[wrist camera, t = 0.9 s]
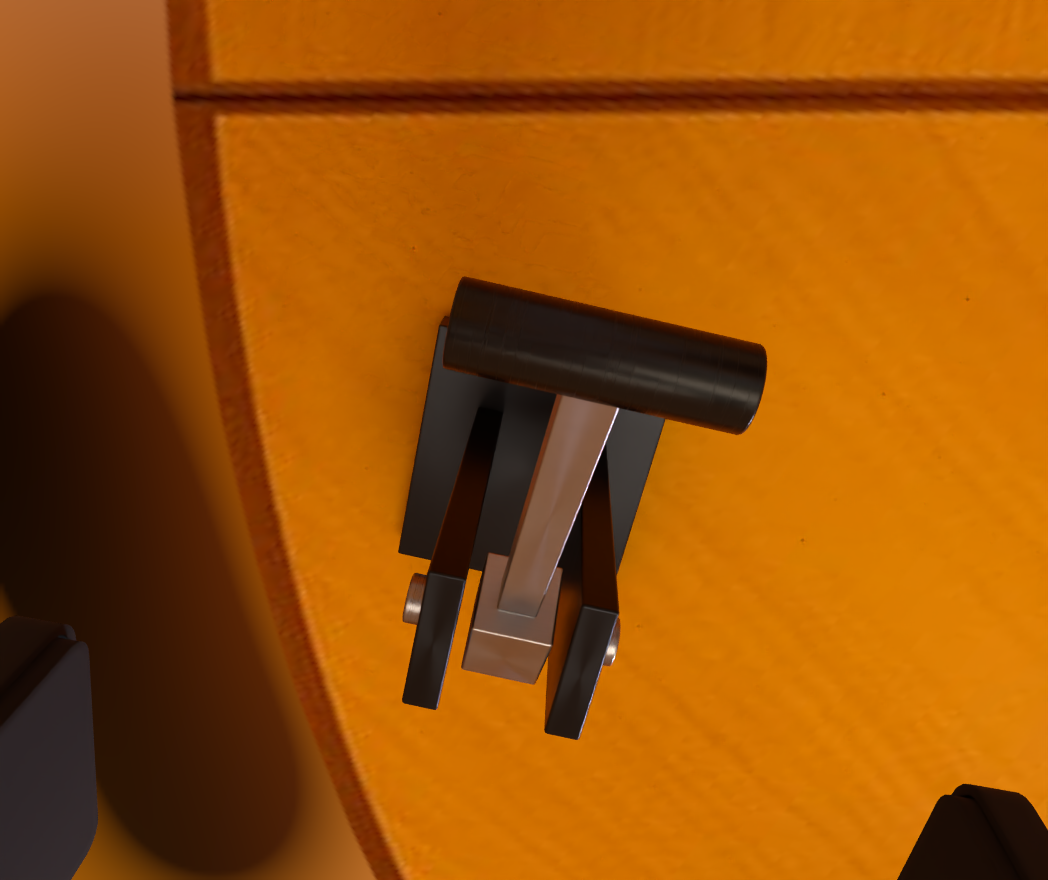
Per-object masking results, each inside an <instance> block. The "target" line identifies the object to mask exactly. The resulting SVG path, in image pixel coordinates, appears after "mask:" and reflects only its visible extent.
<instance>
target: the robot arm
mask: <svg viewBox="0 0 1048 880" xmlns="http://www.w3.org/2000/svg"><path fill="white" fill-rule="evenodd" d="M95 774H96V773H95V755H94V737H93V718H92V701H91V682H90V664H89V651H88V646H87V645H86V643H85V642H81V641H76V637H75V631H74V630H73V629H72V627H71V626H69V625H66V624H61V623H56V622H50V621H44V620H38V619H33V618H27V617H22V616H13V617H9V618H7V619H6V620H5V621H3V622H2V623H0V880H71V879H72V877H73V876H74V874H75V872H76V871H77V869H78V868H79V866H80V865H81V863H82V861H83V860H84V858H85V857H86V855H87V853H88V851H89V849H90V847H91V844H92V842H93V839H94V836H95V833H96V829H97V824H98V809H97V791H96V775H95ZM897 880H1048V830H1047V828H1046V826H1045V825H1044V823H1043V822H1042V820H1041V818H1040V817H1039V815H1038V814H1037V812H1036V810H1035V809H1034V807H1033V806H1032V804H1031V803H1030V802H1029V801H1028V800H1027V798H1026V797H1024V796H1023V795H1021V794H1019V793H1016V792H1011V791H1005V790H999V789H994V788H988V787H982V786H977V785H971V784H962V785H960V786H959V787H957V788H956V789H955V791H954V792H953V793H952V795H944V796H942V797H940V799H939V800H938V801H937V803H936V805H935V807H934V809H933V811H932V813H931V815H930V817H929V819H928V821H927V823H926V824H925V826H924V828H923V830H922V832H921V834H920V836H919V838H918V840H917V842H916V844H915V846H914V848H913V850H912V852H911V854H910V856H909V858H908V860H907V862H906V864H905V866H904V867H903V869H902V871H901V873H900V875H899V877H898V879H897Z"/></svg>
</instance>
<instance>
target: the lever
mask: <svg viewBox="0 0 1048 880" xmlns="http://www.w3.org/2000/svg"><path fill="white" fill-rule="evenodd" d="M442 363H443V368H445V369H447V370H452V371H456V372H461V373H465V374H469V375H474V376H478V377H483V378H487V379H492V380H496V381H500V382H505V383H509V384H514V385H518V386H523V387H527V388H531V389H536V390H540V391H545V392H549V393H554V394H557V396H556V399H555V402H554V406H553V409H552V413H551V416H550V419H549V423H548V426H547V429H546V433H545V436H544V440H543V443H542V446H541V450H540V453H539V456H538V460H537V463H536V467H535V470H534V473H533V477H532V480H531V483H530V487H529V490H528V494H527V497H526V500H525V504H524V507H523V510H522V514H521V517H520V520H519V524H518V527H517V531H516V534H515V537H514V541H513V544H512V547H511V551H510V554H509V556H504V555H500V554H495V553H491V552H489V553H487V555H486V559H485V563H484V567H483V571H482V575H481V579H480V583H479V587H478V591H477V595H476V599H475V604H474V609H473V613H472V618H471V623H470V628H469V632H468V637H467V642H466V646H465V651H464V656H463V660H462V665H461V668H462V669H463V670H468V671H473V672H477V673H482V674H487V675H491V676H496V677H501V678H505V679H510V680H515V681H519V682H524V683H529V684H535V683H536V681H537V679H538V677H539V674H540V672H541V670H542V668H543V666H544V664H545V661H546V659H547V657H548V655H549V653H550V651H551V648H552V646H553V642H554V635H555V628H556V620H557V613H558V606H559V599H560V592H561V585H562V578H563V569H562V568H559V567H557V564H558V562H559V559H560V557H561V554H562V552H563V549H564V546H565V544H566V541H567V539H568V536H569V534H570V531H571V529H572V526H573V524H574V521H575V519H576V516H577V514H578V511H579V509H580V506H581V504H582V501H583V499H584V496H585V494H586V491H587V489H588V486H589V483H590V481H591V478H592V476H593V473H594V471H595V468H596V466H597V463H598V461H599V458H600V456H601V453H602V451H603V448H604V446H605V443H606V441H607V438H608V436H609V433H610V431H611V428H612V425H613V423H614V420H615V418H616V415H617V413H618V410H619V408H620V409H624V410H629V411H633V412H638V413H642V414H646V415H651V416H655V417H660V418H664V419H669V420H673V421H677V422H682V423H686V424H691V425H695V426H700V427H704V428H708V429H713V430H717V431H722V432H726V433H731V434H735V435H739V434H742V433H744V432H745V431H746V429H747V428H748V427H749V425H750V424H751V422H752V420H753V418H754V416H755V414H756V412H757V409H758V406H759V404H760V401H761V397H762V394H763V390H764V385H765V380H766V372H767V355H766V350H765V348H764V347H763V346H762V345H761V344H757V343H753V342H748V341H744V340H740V339H735V338H731V337H727V336H722V335H718V334H714V333H709V332H705V331H701V330H696V329H692V328H688V327H683V326H679V325H674V324H670V323H666V322H661V321H657V320H653V319H648V318H644V317H640V316H635V315H631V314H627V313H622V312H618V311H614V310H609V309H605V308H600V307H596V306H592V305H587V304H583V303H579V302H574V301H570V300H566V299H561V298H557V297H553V296H548V295H544V294H540V293H535V292H531V291H527V290H522V289H518V288H513V287H509V286H505V285H500V284H496V283H492V282H487V281H483V280H479V279H474V278H470V277H462V278H461V280H460V282H459V284H458V287H457V290H456V294H455V297H454V301H453V305H452V309H451V313H450V318H449V323H448V327H447V332H446V338H445V344H444V351H443V361H442Z"/></svg>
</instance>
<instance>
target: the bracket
mask: <svg viewBox="0 0 1048 880" xmlns="http://www.w3.org/2000/svg"><path fill="white" fill-rule="evenodd" d="M449 318H450V317H448V316H444V318H443V320H442V322H441V323H440V325H439V329H438V335H437V340H436V346H435V351H434V357H433V362H432V368H431V374H430V379H429V385H428V390H427V396H426V401H425V407H424V412H423V418H422V423H421V429H420V434H419V440H418V445H417V451H416V456H415V462H414V467H413V473H412V479H411V484H410V490H409V495H408V501H407V506H406V512H405V517H404V523H403V528H402V534H401V539H400V545H399V550H398V552H399V553H401V554H405V555H410V556H414V557H419V558H424V559H428V560H431V563H430V566H429V569H428V573H427V575H423V574H419V573H414V574H413V576H412V579H411V582H410V586H409V589H408V593H407V598H406V602H405V607H404V612H403V622H406V623H410V624H415V625H417V628H416V633H415V638H414V643H413V648H412V653H411V658H410V663H409V668H408V673H407V678H406V683H405V688H404V693H403V698H402V702H403V703H405V704H409V705H414V706H419V707H423V708H428V709H433V710H436V709H437V708H438V704H439V700H440V695H441V691H442V686H443V682H444V678H445V673H446V669H447V664H448V660H449V655H450V651H451V646H452V642H453V637H454V633H455V628H456V624H457V620H458V615H459V611H460V606H461V602H462V597H463V593H464V588H465V584H466V579H467V575H468V570H469V569H474V570H478V571H483V567H484V563H485V559H486V555H487V553H489V552H491V553H495V554H500V555H504V556H509V554H510V551H511V547H512V544H513V541H514V537H515V534H516V531H517V527H518V524H519V520H520V517H521V514H522V510H523V507H524V504H525V500H526V497H527V494H528V490H529V487H530V483H531V480H532V477H533V473H534V470H535V467H536V463H537V460H538V456H539V453H540V450H541V446H542V443H543V440H544V436H545V433H546V429H547V426H548V423H549V419H550V416H551V413H552V409H553V406H554V402H555V399H556V396H557V394H554V393H549V392H545V391H540V390H536V389H531V388H527V387H523V386H518V385H514V384H509V383H505V382H500V381H496V380H492V379H487V378H483V377H478V376H474V375H469V374H465V373H461V372H456V371H452V370H447V369H445V368H443V363H442V361H443V351H444V344H445V338H446V332H447V327H448V323H449ZM664 422H665V419H664V418H660V417H655V416H651V415H646V414H642V413H638V412H633V411H629V410H624V409H620V408H619V410H618V413H617V415H616V418H615V420H614V423H613V425H612V428H611V431H610V433H609V436H608V438H607V441H606V443H605V446H604V448H603V451H602V453H601V456H600V458H599V461H598V463H597V466H596V468H595V471H594V473H593V476H592V478H591V481H590V483H589V486H588V489H587V491H586V494H585V496H584V499H583V501H582V504H581V506H580V509H579V511H578V514H577V516H576V519H575V521H574V524H573V526H572V529H571V531H570V534H569V536H568V539H567V541H566V544H565V546H564V549H563V552H562V554H561V557H560V559H559V562H558V564H557V567H559V568H562V569H563V578H562V585H561V592H560V599H559V606H558V613H557V620H556V628H555V635H554V642H553V646H552V648H551V651H550V653H549V655H548V670H547V689H546V709H545V728H544V730H545V733H547V734H551V735H556V736H561V737H565V738H570V739H575V740H578V739H579V738H580V735H581V732H582V728H583V725H584V722H585V719H586V716H587V713H588V710H589V707H590V704H591V700H592V697H593V694H594V691H595V688H596V685H597V682H598V679H599V675H600V672H601V669H602V666H603V665H605V666H611V664H612V663H613V661H614V659H615V656H616V652H617V648H618V643H619V637H620V619H619V618H618V616H619V603H618V590H617V577H616V576H617V573H618V569H619V566H620V563H621V560H622V557H623V553H624V550H625V547H626V544H627V541H628V537H629V534H630V531H631V528H632V525H633V521H634V518H635V515H636V512H637V509H638V505H639V502H640V499H641V496H642V493H643V489H644V486H645V483H646V480H647V477H648V473H649V470H650V467H651V464H652V460H653V457H654V454H655V451H656V448H657V444H658V441H659V438H660V435H661V432H662V428H663V425H664Z"/></svg>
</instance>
